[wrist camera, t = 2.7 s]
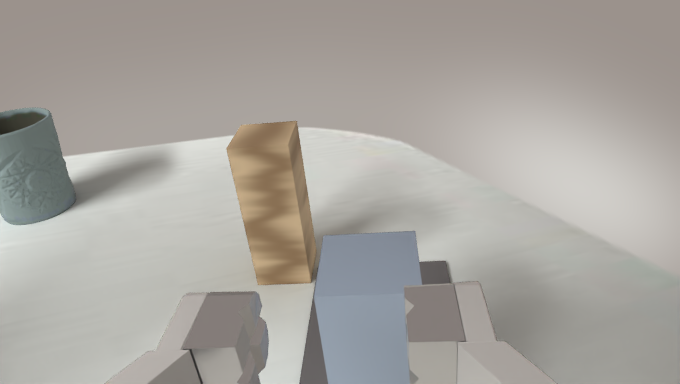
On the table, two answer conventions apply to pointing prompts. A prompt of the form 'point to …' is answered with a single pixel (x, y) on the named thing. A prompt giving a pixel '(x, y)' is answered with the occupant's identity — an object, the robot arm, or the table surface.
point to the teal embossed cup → (32, 168)
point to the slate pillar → (365, 305)
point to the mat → (313, 361)
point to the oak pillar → (274, 201)
